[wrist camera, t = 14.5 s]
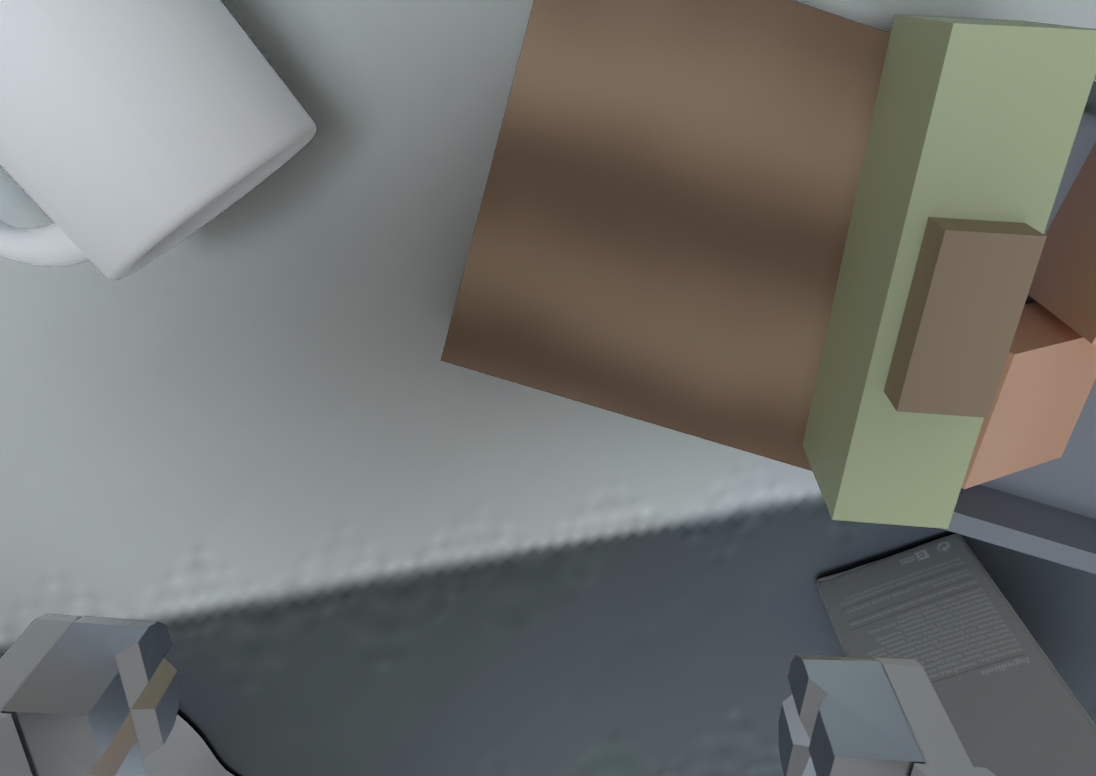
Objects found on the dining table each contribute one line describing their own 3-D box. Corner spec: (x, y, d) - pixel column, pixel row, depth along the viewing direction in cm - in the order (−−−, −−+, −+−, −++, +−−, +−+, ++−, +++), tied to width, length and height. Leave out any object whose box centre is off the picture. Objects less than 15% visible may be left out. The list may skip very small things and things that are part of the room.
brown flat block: (844, 444, 32) (864, 486, 30) (455, 327, 31) (440, 360, 29) (1039, 87, 26) (1087, 100, 23) (561, -74, 25) (554, -80, 22)
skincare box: (810, 574, 35) (939, 969, 21) (979, 518, 34) (1243, 912, 19) (870, 703, 39) (1017, 1123, 25) (1028, 659, 37) (1285, 1087, 23)
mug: (137, -171, 25) (-55, -229, 18) (349, 113, 28) (259, 159, 21) (-91, 67, 29) (-325, 98, 22) (120, 293, 32) (-21, 384, 25)
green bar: (902, 452, 29) (962, 553, 24) (802, 445, 29) (841, 544, 24) (1022, 20, 23) (1139, 34, 18) (894, 14, 23) (973, 26, 18)
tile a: (1000, 421, 31) (1061, 456, 29) (905, 449, 29) (963, 489, 27) (1046, 299, 28) (1117, 329, 26) (946, 320, 26) (1014, 354, 24)
